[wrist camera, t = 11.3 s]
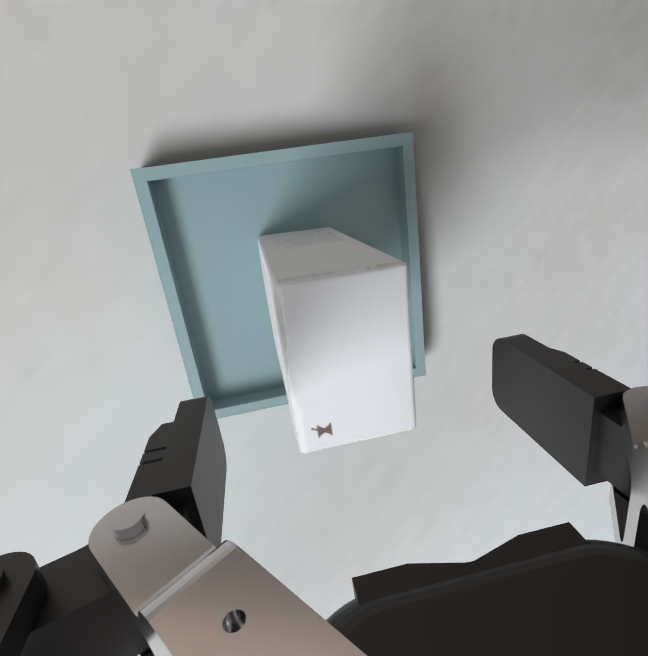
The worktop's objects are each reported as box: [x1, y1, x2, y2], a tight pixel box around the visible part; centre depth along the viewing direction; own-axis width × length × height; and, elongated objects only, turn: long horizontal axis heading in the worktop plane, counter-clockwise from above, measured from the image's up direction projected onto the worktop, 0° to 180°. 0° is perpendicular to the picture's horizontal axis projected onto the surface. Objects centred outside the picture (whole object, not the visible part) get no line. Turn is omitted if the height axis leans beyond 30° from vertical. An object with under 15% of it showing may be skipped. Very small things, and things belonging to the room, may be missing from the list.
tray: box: [130, 132, 426, 419], centre depth 24 cm, size 14×14×2 cm
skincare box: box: [258, 227, 416, 454], centre depth 19 cm, size 6×4×12 cm
